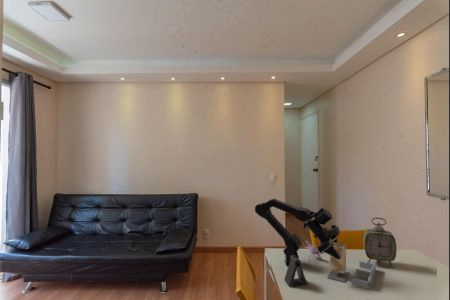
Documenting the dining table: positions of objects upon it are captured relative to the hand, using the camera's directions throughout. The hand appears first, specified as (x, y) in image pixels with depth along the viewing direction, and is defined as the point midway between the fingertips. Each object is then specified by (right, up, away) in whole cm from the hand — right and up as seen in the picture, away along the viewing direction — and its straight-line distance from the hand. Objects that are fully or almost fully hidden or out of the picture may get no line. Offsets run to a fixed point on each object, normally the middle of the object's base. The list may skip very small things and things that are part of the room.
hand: (341, 256), depth 128 cm
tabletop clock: (+27, -9, +13) cm, 31 cm away
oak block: (-1, -7, +1) cm, 7 cm away
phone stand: (-24, -10, -5) cm, 26 cm away
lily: (-6, -10, +22) cm, 24 cm away
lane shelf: (+11, -10, -1) cm, 15 cm away
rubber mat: (-1, -10, +1) cm, 10 cm away
